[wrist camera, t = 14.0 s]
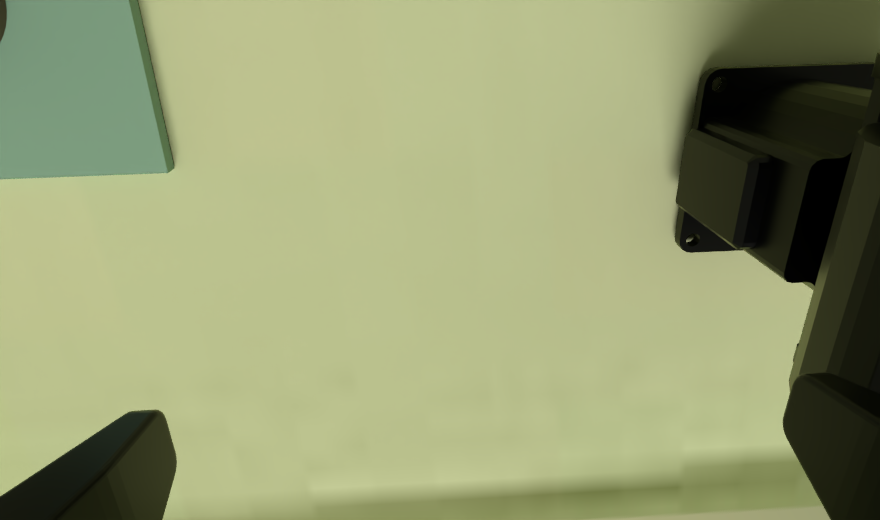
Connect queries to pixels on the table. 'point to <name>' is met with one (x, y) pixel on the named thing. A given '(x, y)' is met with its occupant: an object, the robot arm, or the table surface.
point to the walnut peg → (2, 18)
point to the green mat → (78, 92)
